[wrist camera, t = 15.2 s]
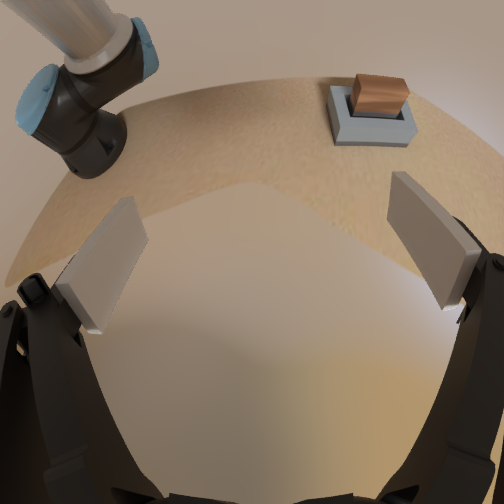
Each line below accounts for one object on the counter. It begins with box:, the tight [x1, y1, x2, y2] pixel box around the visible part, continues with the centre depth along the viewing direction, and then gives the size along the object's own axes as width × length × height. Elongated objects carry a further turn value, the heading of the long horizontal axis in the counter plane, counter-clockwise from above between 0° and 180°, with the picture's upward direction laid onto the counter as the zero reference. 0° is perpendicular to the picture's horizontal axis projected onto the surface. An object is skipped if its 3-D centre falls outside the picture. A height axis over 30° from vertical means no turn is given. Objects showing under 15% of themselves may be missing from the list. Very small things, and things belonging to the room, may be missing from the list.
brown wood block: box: [347, 74, 410, 120], centre depth 37 cm, size 3×8×11 cm, turn 92°
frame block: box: [326, 86, 418, 147], centre depth 41 cm, size 9×14×6 cm, turn 93°
